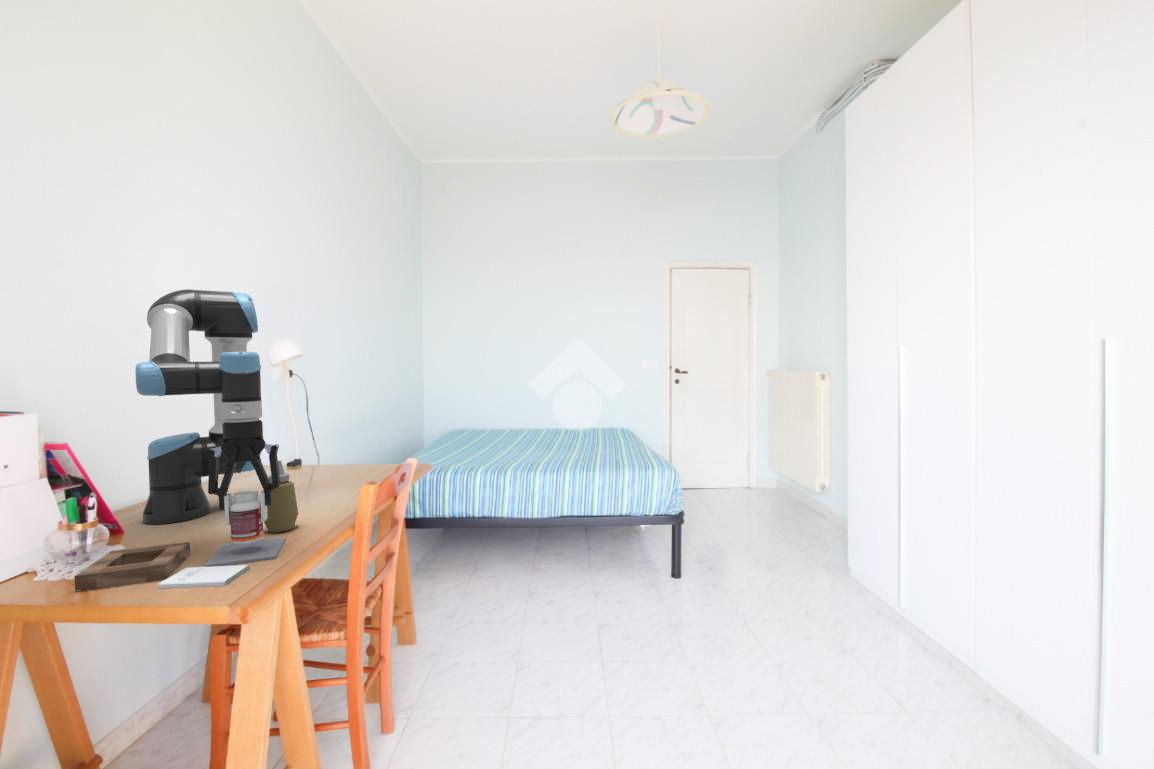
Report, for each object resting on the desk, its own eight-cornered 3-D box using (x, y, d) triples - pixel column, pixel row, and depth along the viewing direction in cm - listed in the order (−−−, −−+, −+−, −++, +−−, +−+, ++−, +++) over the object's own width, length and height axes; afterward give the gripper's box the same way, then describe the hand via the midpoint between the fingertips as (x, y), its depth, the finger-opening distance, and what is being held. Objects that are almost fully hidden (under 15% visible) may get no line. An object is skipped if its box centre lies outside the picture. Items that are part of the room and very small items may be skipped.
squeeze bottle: (306, 525, 133) (303, 458, 132) (280, 535, 125) (277, 464, 125) (281, 523, 135) (279, 457, 135) (255, 533, 127) (252, 463, 127)
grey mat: (222, 547, 118) (222, 545, 118) (285, 539, 122) (285, 537, 122) (204, 568, 105) (204, 565, 105) (275, 558, 110) (275, 555, 110)
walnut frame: (111, 564, 108) (111, 551, 108) (190, 554, 113) (189, 541, 113) (75, 591, 95) (74, 576, 95) (165, 579, 100) (165, 564, 100)
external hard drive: (224, 589, 97) (157, 591, 96) (250, 571, 105) (188, 573, 104) (224, 581, 97) (157, 583, 96) (249, 564, 105) (188, 565, 104)
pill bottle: (266, 540, 114) (264, 492, 113) (234, 547, 109) (232, 497, 109) (260, 534, 118) (258, 488, 118) (228, 540, 114) (226, 492, 113)
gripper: (185, 424, 106) (189, 532, 107) (288, 419, 113) (292, 520, 114) (197, 421, 113) (201, 522, 114) (293, 416, 120) (297, 512, 121)
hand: (246, 521), depth 114 cm, fingers closed on pill bottle, 6 cm apart
